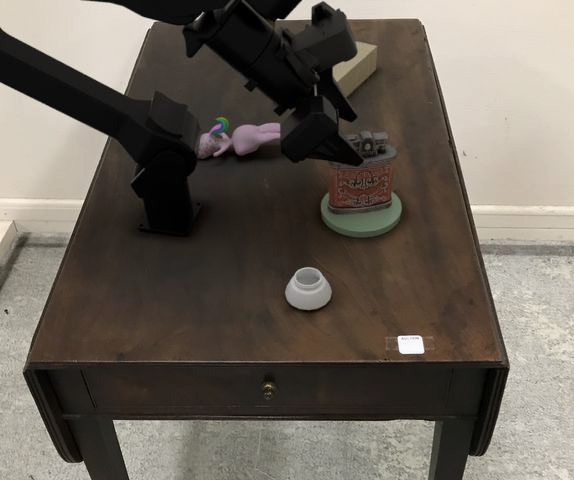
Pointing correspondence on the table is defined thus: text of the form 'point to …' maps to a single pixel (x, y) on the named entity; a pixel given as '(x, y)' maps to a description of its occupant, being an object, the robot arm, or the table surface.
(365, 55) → the hollow beige frame
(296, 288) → the white jar
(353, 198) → the lighter
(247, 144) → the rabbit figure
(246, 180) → the table surface
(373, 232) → the plate
